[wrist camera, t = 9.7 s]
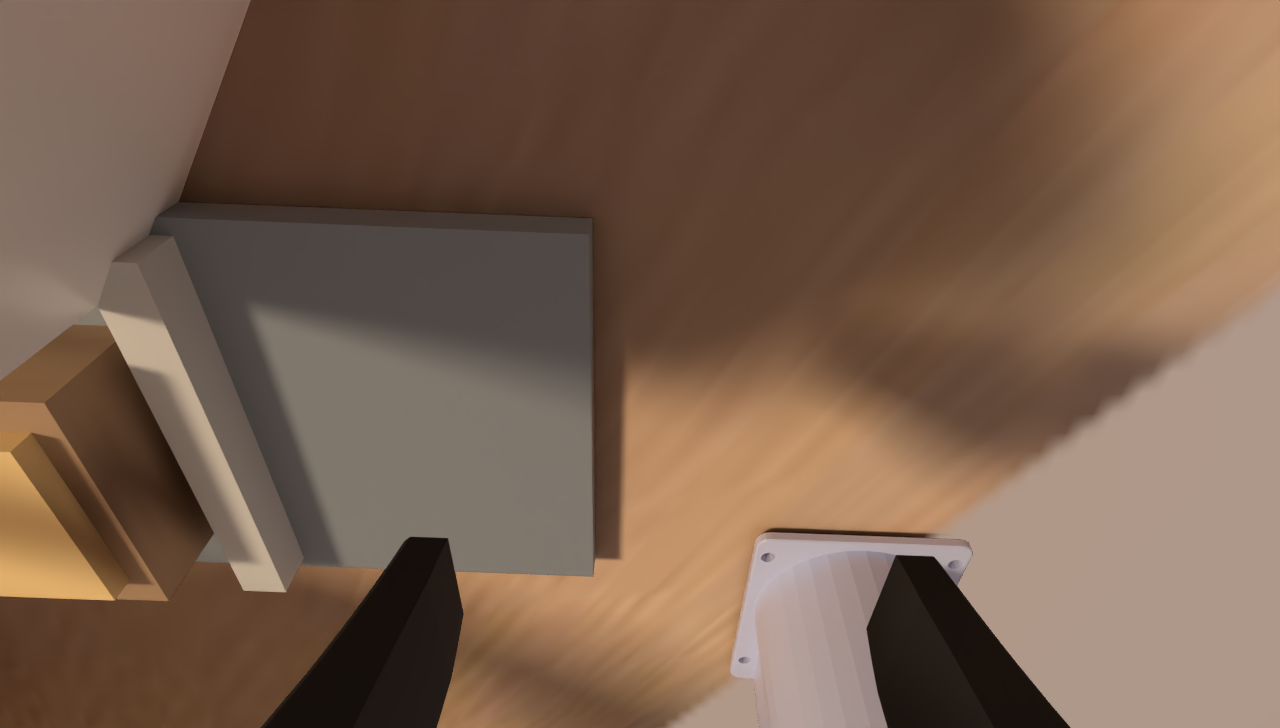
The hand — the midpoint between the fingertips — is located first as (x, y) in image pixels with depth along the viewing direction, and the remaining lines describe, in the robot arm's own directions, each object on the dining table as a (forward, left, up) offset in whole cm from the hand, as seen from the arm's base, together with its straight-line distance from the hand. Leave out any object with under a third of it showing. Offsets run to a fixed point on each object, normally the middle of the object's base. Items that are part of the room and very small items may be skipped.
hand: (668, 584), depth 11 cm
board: (-5, +13, -10) cm, 17 cm away
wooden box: (-5, +18, -9) cm, 20 cm away
